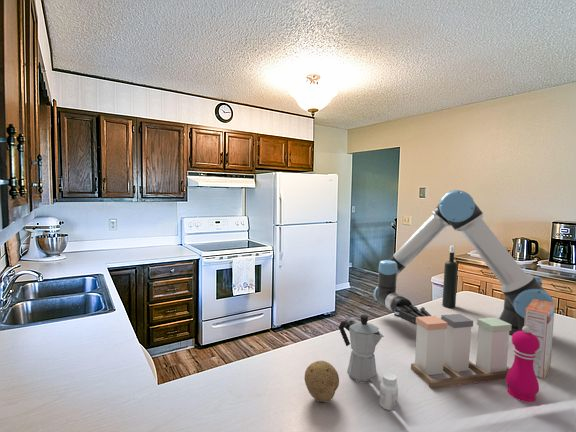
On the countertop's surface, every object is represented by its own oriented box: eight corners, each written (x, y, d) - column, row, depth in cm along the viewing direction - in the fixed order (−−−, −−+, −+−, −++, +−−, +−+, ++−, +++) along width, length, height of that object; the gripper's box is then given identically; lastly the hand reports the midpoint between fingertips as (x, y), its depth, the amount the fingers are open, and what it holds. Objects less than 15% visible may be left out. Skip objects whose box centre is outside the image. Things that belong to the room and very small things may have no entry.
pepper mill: (526, 392, 91) (532, 321, 89) (544, 409, 84) (550, 333, 82) (499, 389, 91) (504, 320, 90) (514, 406, 84) (520, 331, 83)
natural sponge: (317, 384, 92) (318, 350, 91) (345, 397, 86) (346, 361, 85) (297, 399, 85) (298, 362, 84) (326, 415, 79) (327, 375, 78)
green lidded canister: (474, 368, 100) (477, 318, 99) (491, 365, 102) (495, 317, 101) (489, 378, 95) (492, 326, 94) (507, 375, 96) (511, 324, 95)
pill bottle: (397, 402, 85) (398, 373, 84) (397, 412, 81) (398, 382, 80) (379, 398, 86) (381, 370, 86) (378, 408, 82) (380, 378, 82)
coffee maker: (388, 377, 96) (391, 317, 95) (374, 390, 90) (377, 326, 89) (345, 359, 106) (347, 304, 105) (329, 369, 100) (331, 311, 99)
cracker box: (528, 359, 109) (533, 297, 108) (551, 366, 105) (556, 302, 104) (519, 374, 100) (524, 307, 98) (543, 383, 95) (549, 313, 94)
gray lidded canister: (438, 363, 103) (441, 315, 101) (456, 361, 104) (459, 313, 103) (451, 373, 97) (454, 322, 96) (470, 370, 99) (473, 320, 98)
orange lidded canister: (413, 366, 100) (415, 317, 99) (431, 364, 102) (434, 315, 101) (424, 376, 95) (427, 324, 94) (444, 373, 97) (447, 322, 95)
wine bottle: (453, 304, 162) (457, 244, 160) (456, 308, 156) (460, 246, 154) (441, 303, 163) (444, 244, 161) (443, 307, 158) (447, 245, 156)
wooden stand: (401, 369, 101) (401, 359, 101) (484, 359, 108) (485, 350, 108) (428, 394, 88) (429, 384, 88) (521, 382, 96) (522, 372, 95)
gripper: (412, 313, 133) (453, 338, 110) (383, 314, 131) (419, 341, 108) (413, 295, 133) (455, 317, 110) (384, 296, 130) (420, 319, 107)
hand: (437, 329), depth 109 cm, fingers closed
